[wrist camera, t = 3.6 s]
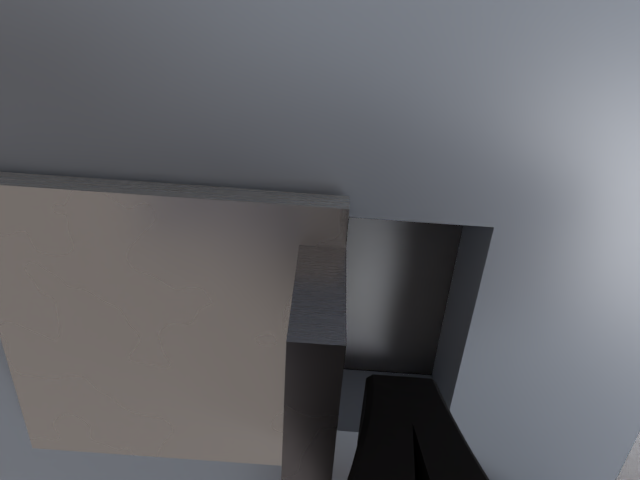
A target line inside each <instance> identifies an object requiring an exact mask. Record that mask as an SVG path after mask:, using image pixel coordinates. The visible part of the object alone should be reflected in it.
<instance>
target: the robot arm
mask: <svg viewBox="0 0 640 480" xmlns="http://www.w3.org/2000/svg"><path fill="white" fill-rule="evenodd" d="M347 480H489V478H488V477H487V475H486V473H485V472H484V470H483V469H482V467H481V465H480V464H479V462H478V460H477V459H476V457H475V455H474V454H473V452H472V450H471V449H470V447H469V445H468V443H467V442H466V440H465V438H464V436H463V434H462V433H461V431H460V429H459V427H458V425H457V423H456V422H455V420H454V418H453V416H452V414H451V412H450V410H449V408H448V406H447V404H446V402H445V400H444V398H443V396H442V394H441V392H440V390H439V388H438V385H437V383H436V382H435V381H434V380H433V379H432V378H419V377H405V376H390V375H376V374H372V375H371V376H369V377H367V378H366V382H365V390H364V397H363V404H362V411H361V419H360V426H359V433H358V440H357V448H356V452H355V455H354V459H353V463H352V466H351V469H350V472H349V475H348V478H347Z"/></svg>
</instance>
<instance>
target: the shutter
mask: <svg viewBox="0 0 640 480" xmlns="http://www.w3.org/2000/svg"><path fill="white" fill-rule="evenodd" d="M348 220H349V196H346V195H331V194H317V193H302V192H288V191H273V190H259V189H244V188H230V187H216V186H201V185H187V184H172V183H158V182H143V181H129V180H114V179H100V178H85V177H71V176H56V175H42V174H27V173H13V172H0V338H1V342H2V345H3V349H4V352H5V356H6V359H7V362H8V366H9V369H10V373H11V376H12V380H13V383H14V386H15V390H16V393H17V397H18V400H19V404H20V407H21V410H22V414H23V417H24V421H25V424H26V428H27V431H28V434H29V438H30V441H31V445H32V448H35V449H50V450H64V451H78V452H92V453H106V454H121V455H135V456H149V457H163V458H178V459H192V460H206V461H220V462H235V463H249V464H263V465H277V466H282V470H281V480H332V473H333V463H334V454H335V445H336V435H337V426H338V416H339V407H340V397H341V388H342V379H343V369H344V360H345V350H346V241H347V230H348Z"/></svg>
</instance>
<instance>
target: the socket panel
mask: <svg viewBox="0 0 640 480" xmlns="http://www.w3.org/2000/svg"><path fill="white" fill-rule="evenodd" d="M0 172H13V173H27V174H42V175H56V176H71V177H85V178H100V179H114V180H129V181H143V182H158V183H172V184H187V185H201V186H216V187H230V188H244V189H259V190H273V191H288V192H302V193H317V194H331V195H346V196H349V217H352V218H366V219H381V220H395V221H410V222H424V223H438V224H453V225H463V229H462V234H461V238H460V243H459V248H458V252H457V257H456V262H455V267H454V271H453V276H452V281H451V285H450V290H449V295H448V299H447V304H446V309H445V314H444V318H443V323H442V328H441V332H440V337H439V342H438V347H437V351H436V356H435V361H434V365H433V370H432V375H418V374H404V373H390V372H375V371H361V370H347V369H343V379H342V388H341V397H340V407H339V416H338V426H337V435H336V445H335V454H334V463H333V473H332V480H347V478H348V475H349V472H350V469H351V466H352V463H353V459H354V455H355V452H356V448H357V440H358V433H359V426H360V419H361V411H362V404H363V397H364V390H365V382H366V378H367V377H369V376H371V375H372V374H376V375H390V376H405V377H419V378H432V379H433V380H434V381H435V382H436V383H437V385H438V388H439V390H440V392H441V394H442V396H443V398H444V400H445V402H446V404H447V406H448V408H449V410H450V412H451V414H452V416H453V418H454V420H455V422H456V423H457V425H458V427H459V429H460V431H461V433H462V434H463V436H464V438H465V440H466V442H467V443H468V445H469V447H470V449H471V450H472V452H473V454H474V455H475V457H476V459H477V460H478V462H479V464H480V465H481V467H482V469H483V470H484V472H485V473H486V475H487V477H488V478H489V480H616V478H617V476H618V474H619V472H620V470H621V468H622V466H623V464H624V462H625V460H626V458H627V456H628V454H629V452H630V450H631V448H632V446H633V444H634V442H635V440H636V438H637V436H638V434H639V432H640V0H0ZM281 470H282V466H277V465H263V464H249V463H235V462H220V461H206V460H192V459H178V458H163V457H149V456H135V455H121V454H106V453H92V452H78V451H64V450H50V449H35V448H32V445H31V441H30V438H29V434H28V431H27V428H26V424H25V421H24V417H23V414H22V410H21V407H20V404H19V400H18V397H17V393H16V390H15V386H14V383H13V380H12V376H11V373H10V369H9V366H8V362H7V359H6V356H5V352H4V349H3V345H2V342H1V338H0V480H281Z"/></svg>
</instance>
